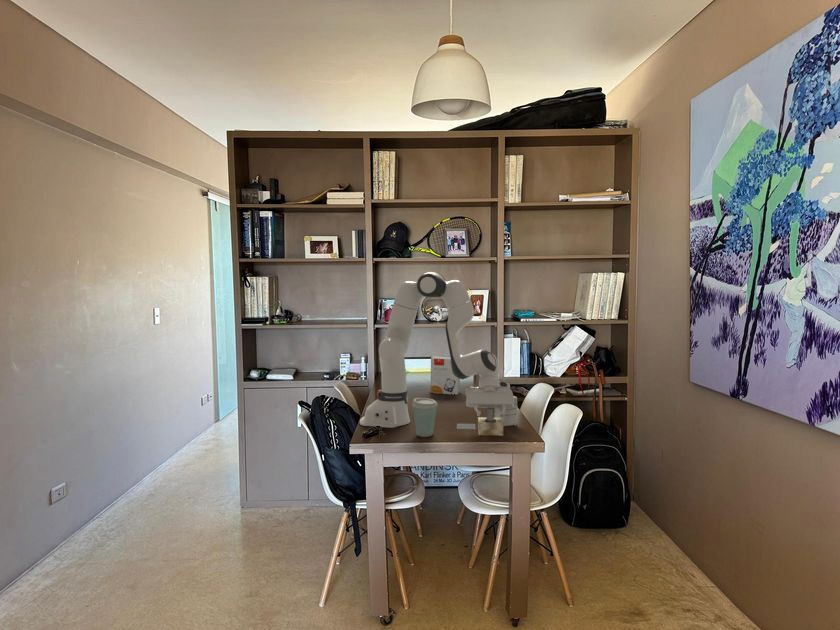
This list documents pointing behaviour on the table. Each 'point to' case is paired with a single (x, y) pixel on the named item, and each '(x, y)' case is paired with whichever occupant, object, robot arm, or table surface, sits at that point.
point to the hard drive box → (443, 376)
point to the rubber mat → (466, 426)
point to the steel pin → (490, 415)
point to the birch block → (490, 426)
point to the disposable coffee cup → (424, 416)
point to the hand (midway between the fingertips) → (490, 415)
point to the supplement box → (508, 414)
